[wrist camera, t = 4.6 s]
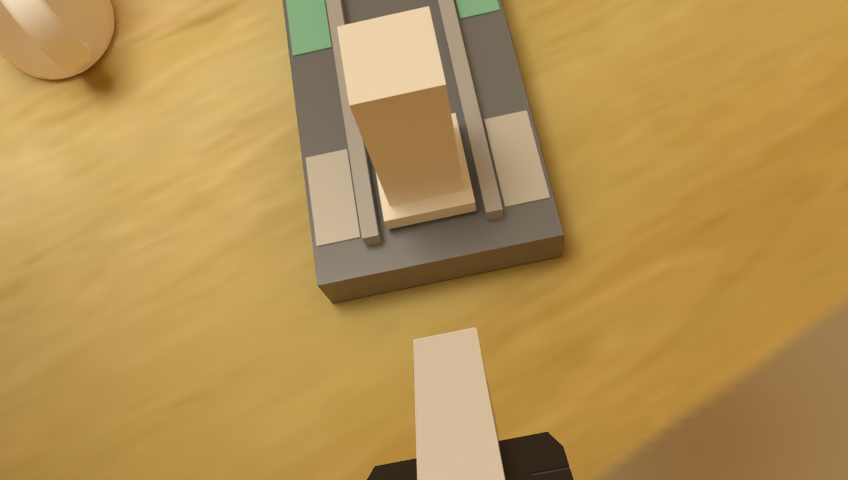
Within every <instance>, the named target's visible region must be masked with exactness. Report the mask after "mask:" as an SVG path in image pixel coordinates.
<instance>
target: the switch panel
mask: <svg viewBox="0 0 848 480" xmlns="http://www.w3.org/2000/svg"><path fill="white" fill-rule="evenodd" d="M427 6H429V8H430V13H431V18H432V22H433V27H434V31H435V36H436V40H437V45H438V49H439V54H440V59H441V63H442V68H443V72H444V77H445V81H446V86H447V92H448V98H449V104H450V110H451V114H452V113H456V118H457V122H458V127H459V131H460V136H461V140H462V145H463V149H464V154H465V158H466V163H467V167H468V172H469V176H470V181H471V185H472V190H473V194H474V199H475V204H476V211H473V212H469V213H464V214H459V215H454V216H450V217H445V218H440V219H435V220H430V221H426V222H421V223H416V224H411V225H407V226H402V227H397V228H392V229H387V227H386V225H385V223H384V219H383V213H382V207H381V201H380V195H379V189H378V183H377V177H376V171H375V168H374V166H373V163H372V161H371V158H370V156H369V153H368V151H367V148H366V146H365V143H364V141H363V138H362V136H361V133H360V131H359V129H358V126H357V124H356V121H355V119H354V116H353V114H352V111H351V109H350V106H349V101H348V95H347V88H346V82H345V75H344V69H343V63H342V56H341V50H340V43H339V37H338V31H337V26H342V25H346V24H351V23H355V22H360V21H364V20H369V19H373V18H378V17H382V16H386V15H391V14H395V13H400V12H404V11H409V10H413V9H418V8H422V7H427ZM283 7H284V15H285V23H286V31H287V39H288V48H289V56H290V64H291V72H292V80H293V88H294V96H295V105H296V113H297V121H298V129H299V137H300V145H301V153H302V161H303V170H304V178H305V186H306V194H307V202H308V210H309V218H310V226H311V235H312V243H313V251H314V259H315V267H316V275H317V283H318V286H319V288H320V289H321V290H322V291H323V292H324V294H325V295H326V296H327V297H328V299H329V300H330V301H331V302H332V303H337V302H342V301H347V300H351V299H356V298H361V297H366V296H371V295H376V294H381V293H386V292H390V291H395V290H400V289H405V288H410V287H415V286H420V285H425V284H430V283H434V282H439V281H444V280H449V279H454V278H459V277H464V276H469V275H473V274H478V273H483V272H488V271H493V270H498V269H503V268H508V267H512V266H517V265H522V264H527V263H532V262H537V261H542V260H547V259H551V258H556V257H561V252H562V245H563V238H564V233H563V229H562V226H561V222H560V218H559V214H558V211H557V207H556V203H555V200H554V196H553V192H552V188H551V185H550V181H549V177H548V173H547V170H546V166H545V162H544V158H543V155H542V151H541V147H540V144H539V140H538V136H537V132H536V129H535V125H534V121H533V117H532V114H531V110H530V106H529V103H528V99H527V95H526V91H525V88H524V84H523V80H522V76H521V73H520V69H519V65H518V61H517V58H516V54H515V50H514V47H513V43H512V39H511V35H510V32H509V28H508V24H507V20H506V17H505V13H504V9H503V5H502V2H501V0H283Z"/></svg>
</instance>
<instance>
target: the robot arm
mask: <svg viewBox="0 0 848 480" xmlns="http://www.w3.org/2000/svg"><path fill="white" fill-rule="evenodd" d="M413 346H414V382H415V419H416V456H417V458H416V459H411V460H406V461H400V462H395V463H390V464H384V465H379V466H375V467H374V469H373V470H372V472H371V474H370V476H369V477H368V479H367V480H573V476H572V473H571V470H570V468H569V464H568V461H567V457H566V454H565V451H564V448H563V446H562V445H561V444H560V443H559V442H558V441H557V440H556V439H555V438H553V437H552V436H551V435H550V434H549V433H548V432H544V433H539V434H534V435H528V436H523V437H518V438H512V439H507V440H502V441H500V440H499V435H498V430H497V425H496V420H495V415H494V410H493V405H492V401H491V396H490V391H489V386H488V381H487V377H486V372H485V367H484V362H483V358H482V353H481V348H480V343H479V339H478V334H477V329H476V327H474V328H469V329H464V330H459V331H454V332H449V333H444V334H438V335H433V336H428V337H423V338H418V339H413Z"/></svg>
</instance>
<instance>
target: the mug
mask: <svg viewBox="0 0 848 480" xmlns="http://www.w3.org/2000/svg"><path fill="white" fill-rule="evenodd" d="M114 24H115V18H114V11H113V7H112V4H111V1H110V0H0V54H1V55H2V56H4V57H5V58H7V59H8V60H9V61H10V62H11V63H12V64H13V65H14V66H15V67H17V68H18V69H19V70H21V71H22V72H24V73H26V74H28V75H31V76H33V77H37V78H41V79H49V80H56V79H64V78H69V77H72V76H75V75H77V74H80V73H82V72H84V71H85V70H87V69H88V68H90V67H91V66H92V65H94V64H95V63H96V62H97V61H98V60H99V59H100V58H101V57H102V55H103V54H104V53H105V51H106V50H107V48H108V46H109V44H110V42H111V39H112V36H113V32H114Z"/></svg>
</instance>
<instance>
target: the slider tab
mask: <svg viewBox="0 0 848 480" xmlns="http://www.w3.org/2000/svg"><path fill="white" fill-rule="evenodd" d="M337 31H338V37H339V43H340V50H341V56H342V63H343V69H344V75H345V82H346V88H347V95H348V101H349V106H350V109H351V111H352V114H353V116H354V119H355V121H356V124H357V126H358V129H359V131H360V133H361V136H362V138H363V141H364V143H365V146H366V148H367V151H368V153H369V156H370V158H371V161H372V163H373V166H374V168H375V171H376V177H377V183H378V189H379V195H380V201H381V207H382V213H383V219H384V223H385V225H386V227H387V229H392V228H397V227H402V226H407V225H411V224H416V223H421V222H426V221H430V220H435V219H440V218H445V217H450V216H454V215H459V214H464V213H469V212H473V211H476V204H475V199H474V194H473V190H472V185H471V181H470V176H469V172H468V167H467V163H466V158H465V154H464V149H463V145H462V140H461V136H460V131H459V127H458V122H457V118H456V113H452V114H451V110H450V104H449V98H448V92H447V86H446V81H445V77H444V72H443V68H442V63H441V59H440V54H439V49H438V45H437V40H436V36H435V31H434V27H433V22H432V18H431V13H430V8H429V6H427V7H422V8H418V9H413V10H409V11H404V12H400V13H395V14H391V15H386V16H382V17H378V18H373V19H369V20H364V21H360V22H355V23H351V24H346V25H342V26H337Z"/></svg>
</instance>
